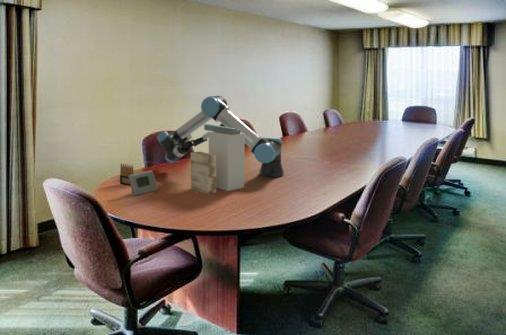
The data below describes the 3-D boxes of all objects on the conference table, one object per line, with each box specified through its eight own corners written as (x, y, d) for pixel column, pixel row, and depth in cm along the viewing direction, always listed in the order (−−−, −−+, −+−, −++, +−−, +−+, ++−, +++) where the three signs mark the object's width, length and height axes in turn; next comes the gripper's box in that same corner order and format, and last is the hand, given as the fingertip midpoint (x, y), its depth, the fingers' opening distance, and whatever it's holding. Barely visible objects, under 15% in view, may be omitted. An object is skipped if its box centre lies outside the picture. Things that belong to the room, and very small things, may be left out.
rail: (208, 129, 260) (208, 124, 259) (236, 134, 243) (236, 128, 243) (204, 130, 258) (204, 124, 257) (232, 134, 241) (232, 128, 241)
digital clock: (133, 197, 229) (132, 176, 227) (124, 193, 236) (124, 173, 234) (161, 191, 240) (160, 172, 238) (152, 188, 247) (151, 169, 245)
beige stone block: (199, 187, 251) (199, 151, 247) (216, 192, 241) (216, 155, 237) (191, 188, 247) (190, 152, 242) (207, 194, 237) (207, 156, 233)
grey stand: (225, 182, 263) (225, 127, 256) (244, 187, 252) (244, 129, 245) (208, 185, 254) (208, 128, 248) (227, 191, 243) (228, 131, 237)
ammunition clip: (135, 186, 251) (134, 164, 249) (132, 186, 250) (131, 165, 247) (122, 183, 257) (121, 162, 254) (119, 183, 255) (118, 163, 253)
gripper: (199, 152, 286) (218, 138, 271) (166, 156, 269) (184, 142, 254) (196, 141, 288) (214, 127, 273) (162, 145, 271) (180, 130, 256)
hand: (200, 134), depth 263 cm, fingers open, 13 cm apart
